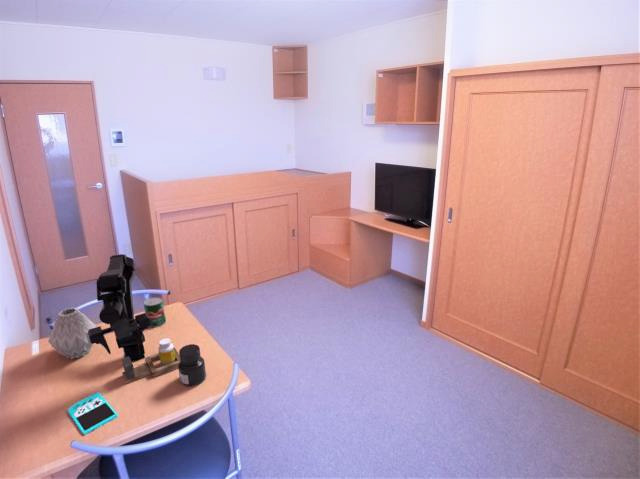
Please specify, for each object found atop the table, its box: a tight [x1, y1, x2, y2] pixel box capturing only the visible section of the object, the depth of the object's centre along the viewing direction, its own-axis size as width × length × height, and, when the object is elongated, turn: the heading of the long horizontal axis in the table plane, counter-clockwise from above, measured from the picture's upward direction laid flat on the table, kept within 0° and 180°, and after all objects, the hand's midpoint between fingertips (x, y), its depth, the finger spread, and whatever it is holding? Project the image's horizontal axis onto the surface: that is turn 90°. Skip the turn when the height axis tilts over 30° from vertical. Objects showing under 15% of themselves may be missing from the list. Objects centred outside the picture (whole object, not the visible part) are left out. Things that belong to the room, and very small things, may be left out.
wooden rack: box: [121, 347, 180, 384], centre depth 141 cm, size 20×11×6 cm, turn 127°
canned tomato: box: [143, 296, 167, 328], centre depth 171 cm, size 8×8×11 cm
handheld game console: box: [67, 391, 119, 436], centre depth 121 cm, size 10×16×1 cm, turn 49°
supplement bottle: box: [157, 338, 176, 367], centre depth 143 cm, size 5×5×10 cm
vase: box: [48, 307, 97, 360], centre depth 149 cm, size 16×16×18 cm
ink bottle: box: [177, 343, 207, 387], centre depth 134 cm, size 10×9×12 cm
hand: (124, 348), depth 134 cm, fingers open, 9 cm apart
